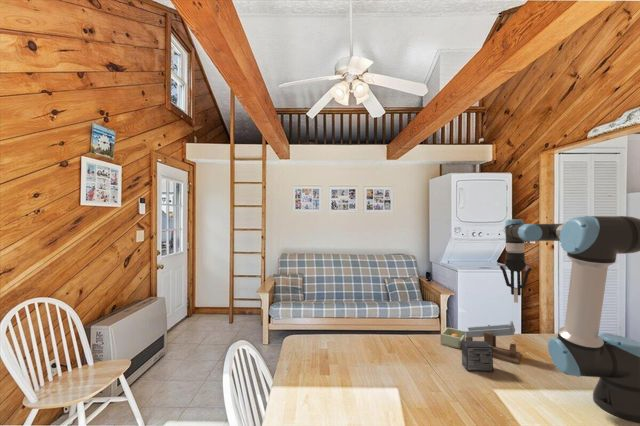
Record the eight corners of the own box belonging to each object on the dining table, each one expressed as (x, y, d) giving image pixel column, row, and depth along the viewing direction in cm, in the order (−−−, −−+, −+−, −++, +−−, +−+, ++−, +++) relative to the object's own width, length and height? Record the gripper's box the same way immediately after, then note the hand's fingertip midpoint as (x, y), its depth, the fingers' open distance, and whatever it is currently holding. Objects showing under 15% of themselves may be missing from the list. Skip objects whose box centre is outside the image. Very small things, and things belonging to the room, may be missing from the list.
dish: (460, 349, 145) (459, 338, 145) (440, 344, 151) (440, 333, 151) (465, 341, 154) (465, 331, 154) (446, 337, 160) (446, 327, 160)
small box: (486, 364, 131) (486, 340, 131) (493, 372, 124) (493, 347, 124) (461, 363, 132) (461, 339, 132) (466, 371, 125) (466, 346, 125)
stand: (518, 363, 131) (518, 339, 131) (461, 349, 145) (460, 327, 145) (520, 354, 140) (520, 331, 140) (466, 341, 154) (466, 320, 154)
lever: (513, 335, 133) (510, 325, 134) (465, 338, 145) (462, 329, 146) (516, 326, 144) (513, 316, 145) (471, 329, 156) (469, 320, 157)
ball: (459, 343, 149) (456, 334, 150) (451, 343, 151) (448, 335, 152) (461, 340, 152) (458, 332, 153) (453, 341, 154) (450, 333, 155)
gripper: (531, 251, 143) (532, 302, 143) (499, 250, 151) (500, 298, 150) (531, 253, 137) (532, 305, 137) (498, 251, 145) (499, 301, 144)
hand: (516, 301), depth 143 cm, fingers closed
